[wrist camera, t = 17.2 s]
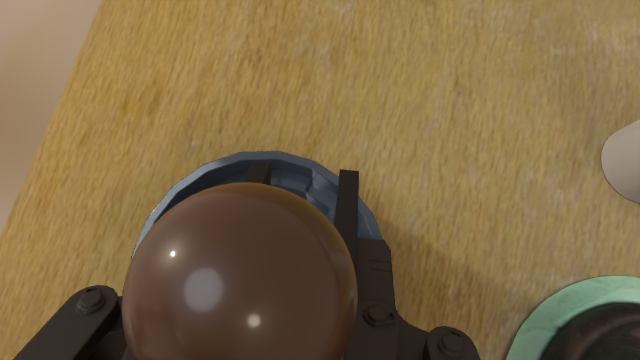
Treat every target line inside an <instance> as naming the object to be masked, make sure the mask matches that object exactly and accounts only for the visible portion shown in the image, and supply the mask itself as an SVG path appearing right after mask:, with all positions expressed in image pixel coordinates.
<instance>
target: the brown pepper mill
mask: <svg viewBox="0 0 640 360" xmlns="http://www.w3.org/2000/svg"><path fill="white" fill-rule="evenodd" d="M357 305H358V290H357V280H356V274H355V269H354V265H353V262H352V259H351V256H350V253H349V251H348V249H347V247H346V244H345V242H344V240H343V239H342V237H341V235H340V234H339V232H338V231H337V229H336V228H335V226H334V225H333V224H332V223H331V222H330V220H329V219H328V218H327V217H326V216H325V215H324V214H323V213H322V212H321V211H320V210H319V209H317V208H316V207H315V206H314V205H312V204H311V203H309V202H308V201H307V200H305V199H304V198H302V197H300V196H298V195H296V194H294V193H292V192H290V191H287V190H284V189H281V188H279V187H275V186H270V185H266V184H260V183H249V182H244V183H230V184H224V185H219V186H215V187H212V188H208V189H205V190H203V191H201V192H198V193H196V194H194V195H192V196H190V197H188V198H186V199H185V200H183V201H181V202H180V203H178V204H176V205H175V206H174V207H173V208H171V209H170V210H169V211H167V212H166V213H165V214H164V215H163V216H162V217H161V218H160V219H159V220H158V221H157V222H156V223H155V224H154V225H153V226H152V227H151V229H150V230H149V231H148V232H147V234H146V235H145V236H144V238H143V240H142V241H141V243H140V244H139V246H138V248H137V250H136V252H135V254H134V256H133V258H132V260H131V263H130V266H129V269H128V272H127V275H126V278H125V283H124V288H123V296H122V323H123V329H124V334H125V339H126V342H127V345H128V348H129V351H130V354H131V356H132V358H133V360H342V358H343V356H344V354H345V352H346V349H347V347H348V345H349V342H350V339H351V336H352V333H353V331H354V326H355V321H356V316H357Z"/></svg>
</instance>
